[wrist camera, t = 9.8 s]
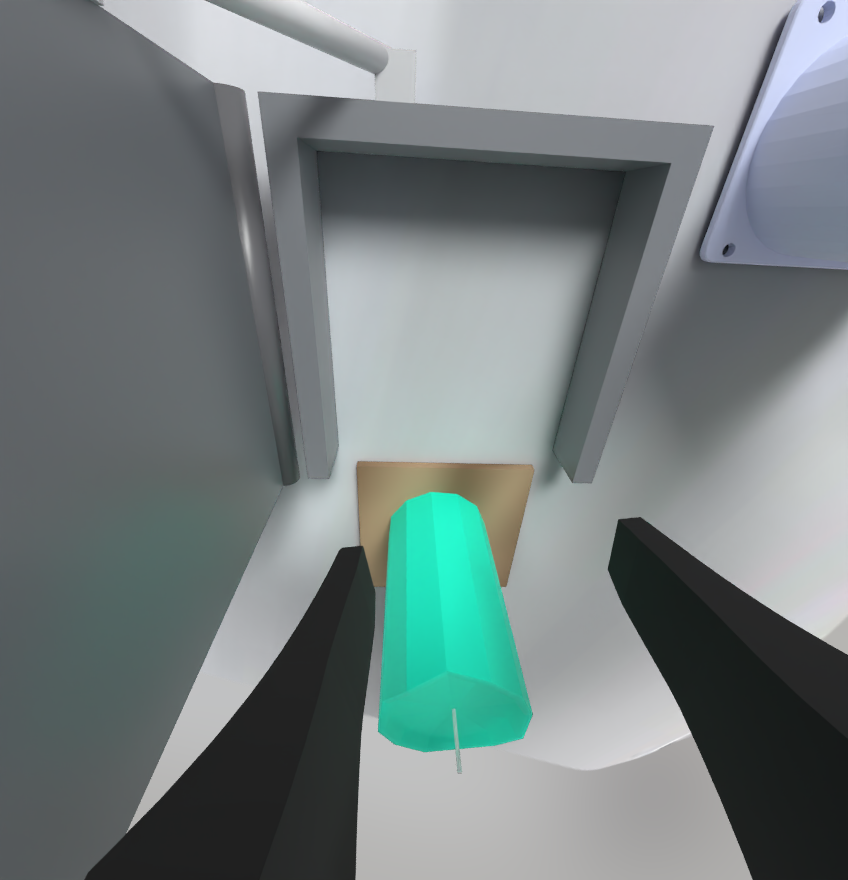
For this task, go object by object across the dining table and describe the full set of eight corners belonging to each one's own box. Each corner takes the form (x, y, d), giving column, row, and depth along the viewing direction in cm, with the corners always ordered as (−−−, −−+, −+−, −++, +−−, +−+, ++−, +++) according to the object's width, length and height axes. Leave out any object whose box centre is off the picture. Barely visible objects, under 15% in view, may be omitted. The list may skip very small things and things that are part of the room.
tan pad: (531, 464, 22) (534, 469, 22) (504, 580, 27) (506, 586, 27) (357, 461, 21) (356, 466, 21) (363, 580, 27) (362, 586, 26)
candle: (502, 508, 23) (579, 747, 13) (459, 572, 26) (494, 811, 15) (409, 479, 22) (412, 720, 11) (374, 549, 24) (351, 796, 14)
